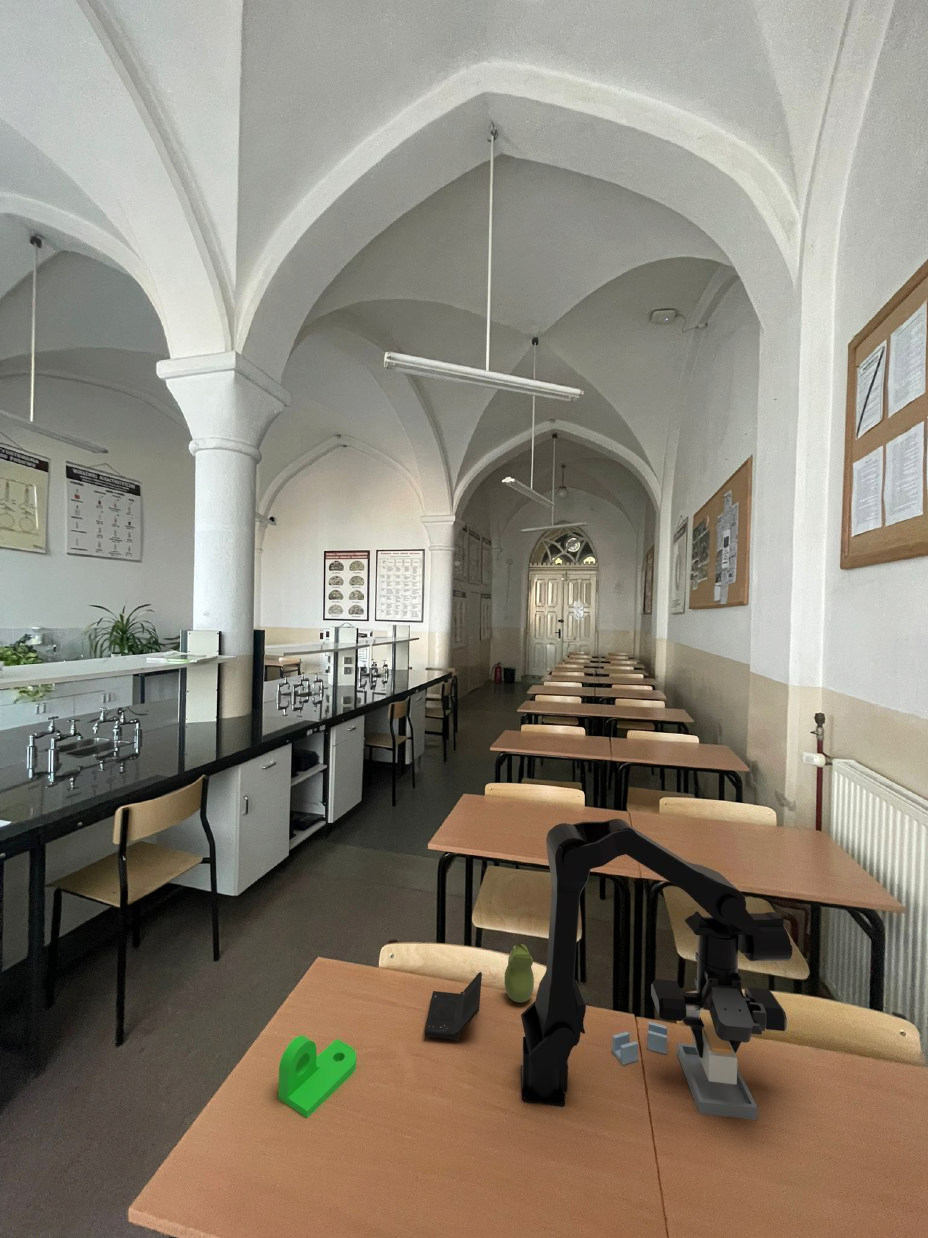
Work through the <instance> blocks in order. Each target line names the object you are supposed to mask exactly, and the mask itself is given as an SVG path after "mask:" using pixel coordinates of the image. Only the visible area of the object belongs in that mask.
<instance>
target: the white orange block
mask: <svg viewBox="0 0 928 1238" xmlns="http://www.w3.org/2000/svg"><path fill="white" fill-rule="evenodd" d="M702 1022H703V1024H704V1028H703V1029H702V1034H703V1058H700V1057H699V1058H700V1060H701V1063H702V1065H703V1068H704V1070H705V1073H706V1075H707V1078H708V1080H709V1081H711V1082H719V1083H728V1084H737V1067H738V1056H737V1053H736V1054H735V1052H734V1050H733V1048H732V1046H731V1044H730V1042H729V1041H725V1040H722V1039H720V1038H719V1037H718V1036H717V1035H716V1033H715V1029H714V1025H713V1022H712V1021H707V1020H702ZM694 1045H695V1041H694ZM695 1048H696V1045H695ZM696 1050H697V1048H696ZM697 1053H698V1051H697ZM698 1055H699V1054H698Z"/></svg>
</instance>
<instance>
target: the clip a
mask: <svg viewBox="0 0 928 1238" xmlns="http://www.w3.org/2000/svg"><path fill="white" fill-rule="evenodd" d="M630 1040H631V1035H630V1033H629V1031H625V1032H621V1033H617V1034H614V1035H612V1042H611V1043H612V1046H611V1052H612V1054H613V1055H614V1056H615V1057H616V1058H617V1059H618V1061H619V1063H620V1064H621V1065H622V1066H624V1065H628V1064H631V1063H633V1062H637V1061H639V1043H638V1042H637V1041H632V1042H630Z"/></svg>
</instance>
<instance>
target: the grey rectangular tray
mask: <svg viewBox="0 0 928 1238" xmlns="http://www.w3.org/2000/svg"><path fill="white" fill-rule="evenodd" d="M676 1048H677V1049H676V1050H677V1051H676V1054H677V1057H678V1059H679V1062H680V1065H681V1068H682V1071H683V1074H684V1076H685V1079H686V1081H687V1083H688V1087H689V1090H690V1092H691V1096H692V1098H693V1100H694V1103H695V1106H696V1109H697V1112H698V1113H699V1114H701V1115H708V1116H717V1117H727V1118H735V1119H742V1120H744V1119H745V1120H750V1121H751V1120H753V1121H758V1116H759V1108H758V1106H757V1103H756V1101H755V1099H754V1098H753V1096H752V1093H751V1091H750V1089H749V1087H748V1085H747V1083H746V1080H745V1079H744V1077H743V1074H742V1073H741V1070H740V1069H739V1067H738V1066H737V1084H728V1083H719V1082H711V1081H709V1080H708V1078H707V1075H706V1073H705V1070H704V1068H703V1065H702V1063H701V1060H700V1058H699V1055H698V1053H697V1050H696V1048H695V1045H694V1044H692V1043H682V1042H680V1043H679V1042H677V1045H676Z"/></svg>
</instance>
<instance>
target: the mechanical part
mask: <svg viewBox="0 0 928 1238" xmlns="http://www.w3.org/2000/svg"><path fill="white" fill-rule="evenodd" d="M317 1049H318V1048H317V1044H316V1043H315V1042H314V1041H313V1040H311V1039H310V1038H308V1037H306V1036H304V1035H298V1036H296V1037H294V1038H293V1039H292V1040H291V1041H290V1043H288V1045H287V1047H286V1048H285V1050H284V1051H283V1053H282V1055H281V1059H280V1061H279V1066H278V1068H279V1069H278V1100H280V1101H281V1102H283V1103H284V1104H285V1105H287V1106H288V1107H290V1108H292V1109H293V1110H295V1111H296V1112H297V1113H298V1114H301V1116H303V1117H305V1118H306V1119H308V1118H309V1117H310V1116H311V1115H312V1114H313V1113H314V1112H316V1110H317V1109H318V1108H319V1107H320V1106H322V1104H323V1103H324V1102H325V1101H326V1100H327V1099H329V1098H330V1097H331V1096H332V1095H333V1094H334V1093H335V1092H336V1091H337V1090H338V1089H339V1088H340V1087H341V1086H342V1085H343V1084H344V1083H346V1081H347V1080H348V1079H349V1078H350V1077H351V1076H352V1075H353V1074H354V1072H356V1068H357V1053H356V1050H355V1049H354V1048H353V1047H352V1046H350V1045H349V1044H347V1043H345V1042H343V1041H342V1040H340V1039H339V1038H335V1040H333V1041H332V1042H331V1043H329V1045H328V1046H327V1047H326V1048H324V1050H323V1051H321V1052H320V1053H319V1054H318V1055H317V1053H318V1052H317Z"/></svg>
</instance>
